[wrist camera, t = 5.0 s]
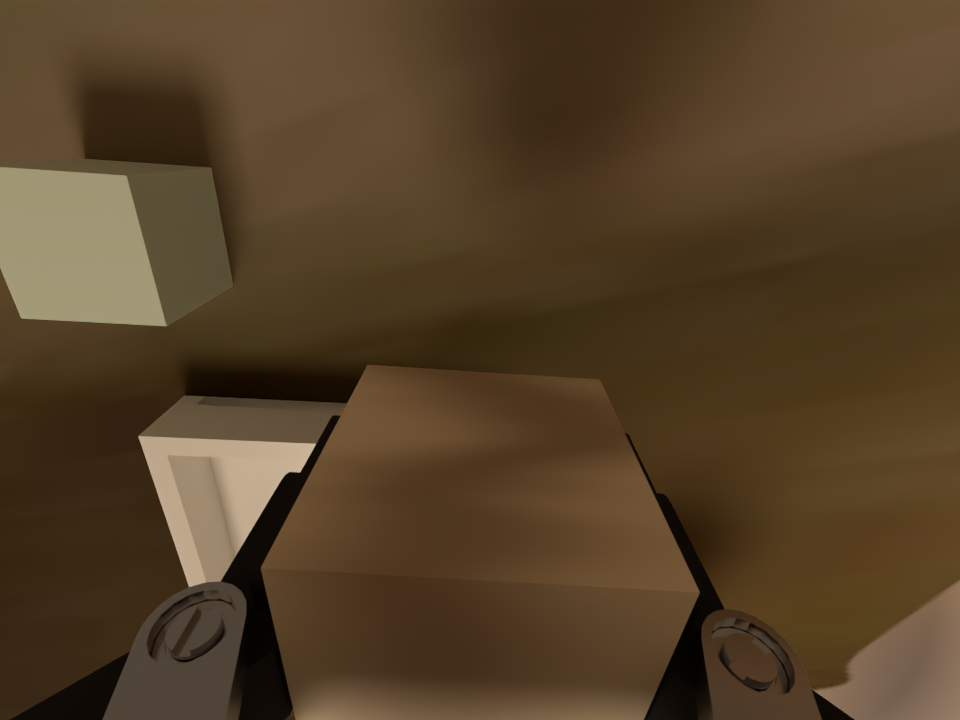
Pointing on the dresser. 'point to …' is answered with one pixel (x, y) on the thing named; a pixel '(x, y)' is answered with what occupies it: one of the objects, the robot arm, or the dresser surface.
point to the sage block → (110, 240)
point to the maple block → (476, 557)
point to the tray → (226, 469)
